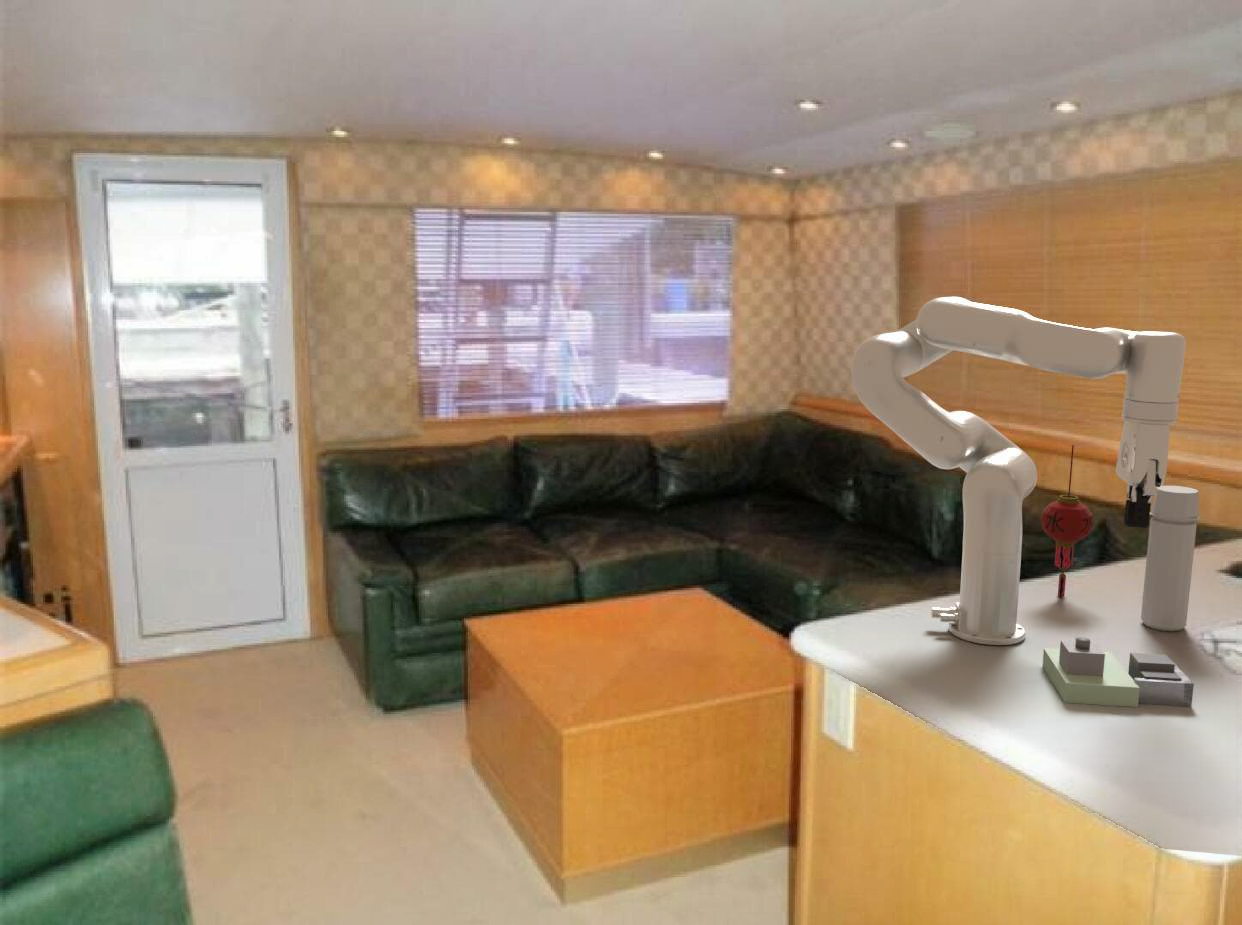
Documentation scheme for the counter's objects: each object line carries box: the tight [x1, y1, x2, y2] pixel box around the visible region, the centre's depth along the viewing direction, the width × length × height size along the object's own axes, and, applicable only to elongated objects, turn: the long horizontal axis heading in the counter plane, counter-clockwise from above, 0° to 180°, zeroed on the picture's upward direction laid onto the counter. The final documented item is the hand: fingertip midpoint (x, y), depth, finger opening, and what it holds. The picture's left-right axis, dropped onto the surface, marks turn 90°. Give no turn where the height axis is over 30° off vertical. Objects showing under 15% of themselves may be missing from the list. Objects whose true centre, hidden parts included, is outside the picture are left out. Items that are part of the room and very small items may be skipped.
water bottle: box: [1140, 485, 1200, 632], centre depth 175 cm, size 9×8×25 cm
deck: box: [1042, 636, 1140, 708], centre depth 151 cm, size 10×14×8 cm
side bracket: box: [1134, 664, 1195, 707], centre depth 148 cm, size 8×8×4 cm
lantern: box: [1040, 444, 1095, 598], centre depth 191 cm, size 10×10×30 cm
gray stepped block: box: [1127, 652, 1182, 681], centre depth 148 cm, size 5×7×5 cm
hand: (1135, 525), depth 157 cm, fingers closed
